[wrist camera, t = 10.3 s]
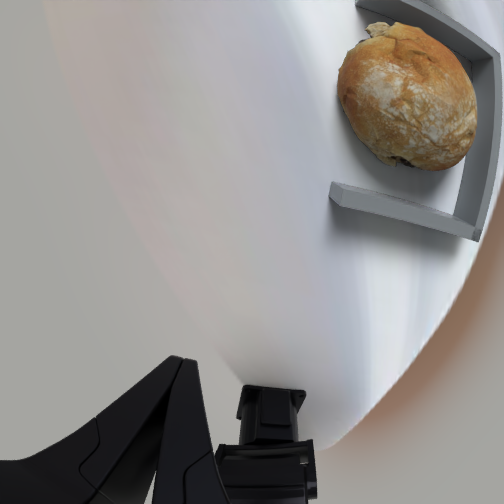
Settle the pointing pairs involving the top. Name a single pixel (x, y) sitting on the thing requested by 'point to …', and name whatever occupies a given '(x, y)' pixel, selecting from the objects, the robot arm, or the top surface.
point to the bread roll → (408, 98)
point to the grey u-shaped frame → (486, 137)
